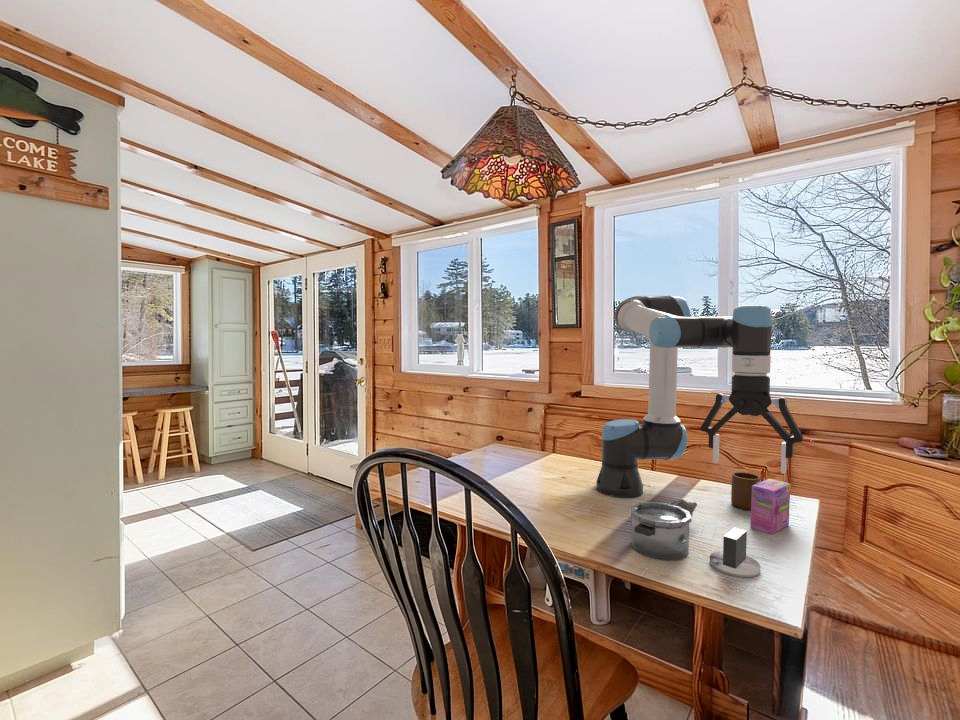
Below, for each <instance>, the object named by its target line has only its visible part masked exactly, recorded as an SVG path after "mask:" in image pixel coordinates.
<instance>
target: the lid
mask: <svg viewBox="0 0 960 720" xmlns="http://www.w3.org/2000/svg"><path fill="white" fill-rule="evenodd" d="M747 534H748V531H747V530H745V529H742V528H738V527H733V528H732V529H730V530H729V531H728V532H726V534H725V535H723V543H722V544H723V545H722V546H723V547H722V549H723V550H721V551H720V550H719V551H715V552H712V553H711V554H710V555H709V565H710V567H712V568H713V569H714V570H716V571H717V572H719V573H721V574H724V575H726V576H729V577H734V578H740V579H754V578H757V577H759V576H760V575H761V564H760V563H759V562H758V561H757V560H756V559H755V558H753V557H750V556H749V555H747V540H748V535H747Z"/></svg>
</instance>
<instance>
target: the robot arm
mask: <svg viewBox="0 0 960 720" xmlns="http://www.w3.org/2000/svg"><path fill="white" fill-rule="evenodd" d="M614 320H615V323H616V325H617V326H618V327H619V328H620V329H622V330H624V331H625V332H629V333H634V332H636V333H639V334H642V335H644V336H645V339H646V340H647V341H649V367H648V369H649V370H648V401H647V402H648V403H647V404H648V410H647V412H648V413H647V414H646V415H645V416H644V417H643V418H642V420H643V422H642V423H640V422H639V421H638V420H636V419H631V418H630V419H626V418H623V419H615V420H611V421H607V422H605V423H604V425H603V426H602V430H601V431H602V433H601V467H600V470H599V473H598V476H597V478H596V483H595V487H596V488H595V490H596V491H598V492H599V493H601V494H603V495H607V496H610V497H614V498H615V497H616V498H635V497H639V496H642V495H643V494H644V483H643V481H642V480H643V479H642V477H641V474H640V471H639V460H664V461H667V460H668V461H669V460H677V459H679V458H681V457H682V456H683V455H684V453H685V452H686V449H687V446H688V434H687V429H686V427H685V425H684V424H682V423H681V419H680V418H679V417H678V416H677V413H676V412H677V383H678V382H677V381H678V380H677V379H678V354H679V353H678V351H679V348H722V349H724V348H732V353H731V354H732V355H731V372H733V373H734V374H733V375H731V393H730V394H724V393H723V392H720V393H717V394H716V395H715V400H714V404H713V406H712V407H711V410H710V411H709V412H708V413H707V416H706V418H705V419H704V421H703V423H702V424H701V426H700V431H701V432H704V433H706V434H707V435H708V448H709V449H712V463H713V464H718V463H719V462H720V434H719V433H717V432H719V430H720V429H721V428H722V427H724V425H726V424H727V423H728V422H729V421H730V420H731V419H732V418H733V417H734V416H735V415H736V414H737V413H738V414H739V415H741V416H748V415H749V416H752V417H759V416H760V415H761V416H762V417H763V418H764V419H765V421H767V422H768V424H769V425H770V426H771V427H772V428H773V429H774V430H775V432H776V433H777V434H778V435H779V436H780V438H782V440H783V441H782V442H781V452H780V454H781V455H780V474H785V475H786V472H787V468H788V467H787V463H788V461H787V460H788V459H792V457H793V456H794V444H795V443H802V441H803V440H804V436H803V434H802V432H801V430H800V428H799V427H798V424H797V422H796V421H795V419H794V417H793V416H792V414H791V412H790V410H789V407H788V402H787V398H786V397H785V396H781V397H775V398H774V397H772V396H771V395H770V394H771V393H770V392H771V391H770V390H771V389H770V388H771V377H770V376H769V375H768V374H770V373H771V350H772V349H771V346H772V327H773V321H772V309H771V308H770V307H769V306H768V305H760V304H759V305H738V306H736V307H735V308H734V309H733V312H732V316H692V311H691V307H690V305H689V303H688V301H687V300H686V299H685V298H684V297H681V296H676V295H638V296H637V295H636V296H631V297H628V298H626V299H624V300H623V301H621V302H620V303H618V305H617V306H616V308H615V311H614ZM727 401H729V402H730V404H731V405H732V408H731V409H730V410H729V411H728V412H727V413H725V415H724V416H722V418H720V419H719V420H718V421H717V423H715V424H714V425H713V426H712V427H711V425H712V422H713V421H714V420H715V417H716V416H717V415H718V413H719V411H720V409H721V407H723V404H725V403H727ZM772 404H773V405H774V406H775V407H776V408H779V412H780V413H781V416H782V417H783V419H784V420H785V423H786V424H787V426H788V429H789V431H790V432H791V434H792V435H791V434H790V433H789V432H788V431H787V429H785V427H784V426H783V425H782V424H781V423H780V422H779V421H778V420H777V419H776V417H775V416H774V415H773V413H772V412H771V411H770V410H769V409H768V408H769V407H770V406H771V405H772Z"/></svg>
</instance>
